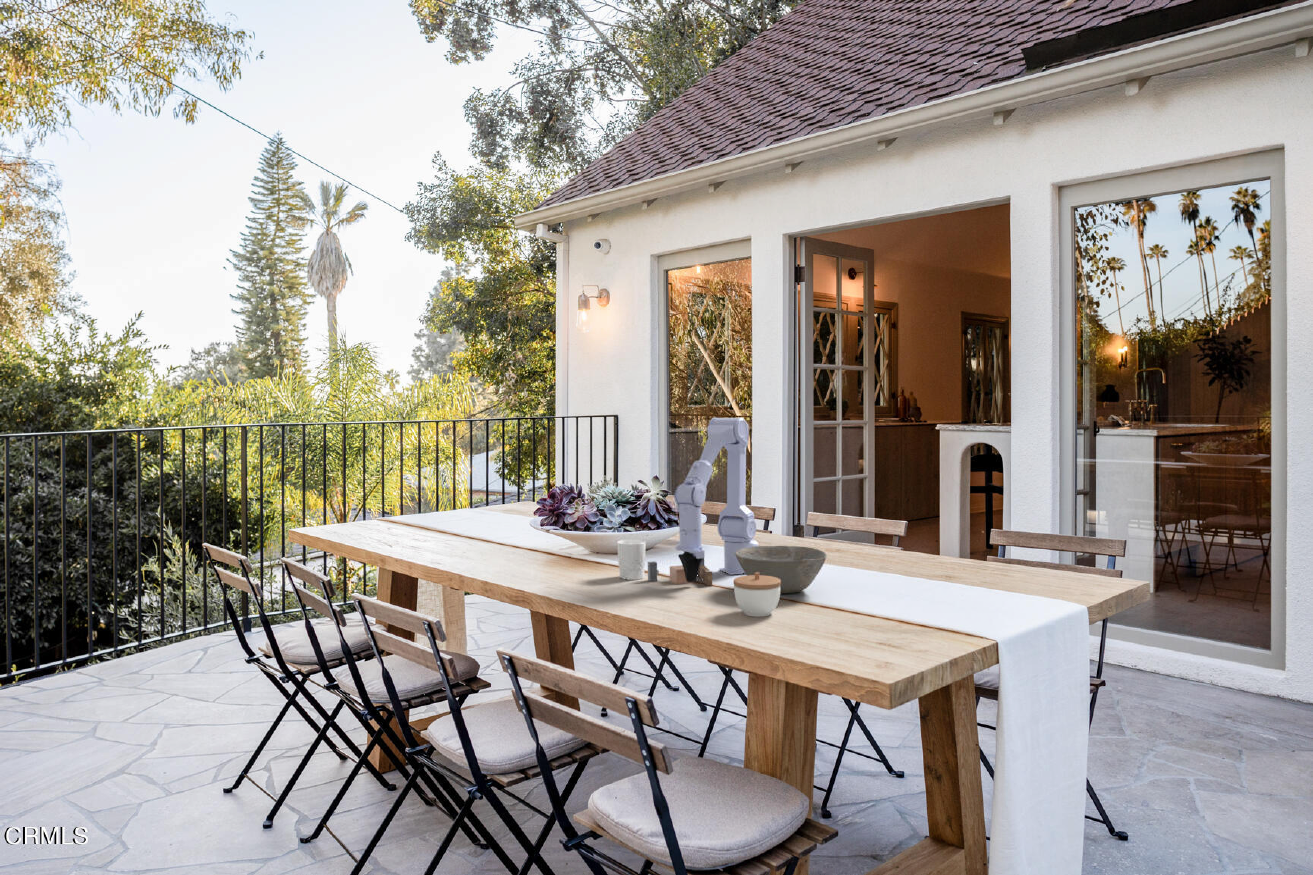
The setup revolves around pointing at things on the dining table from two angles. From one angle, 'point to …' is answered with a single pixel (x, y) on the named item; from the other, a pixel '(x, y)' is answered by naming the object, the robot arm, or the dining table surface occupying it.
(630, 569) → the white cup
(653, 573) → the grey blocks
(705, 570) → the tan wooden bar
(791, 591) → the ceramic bowl
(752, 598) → the lidded jar
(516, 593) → the dining table surface
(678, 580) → the block
